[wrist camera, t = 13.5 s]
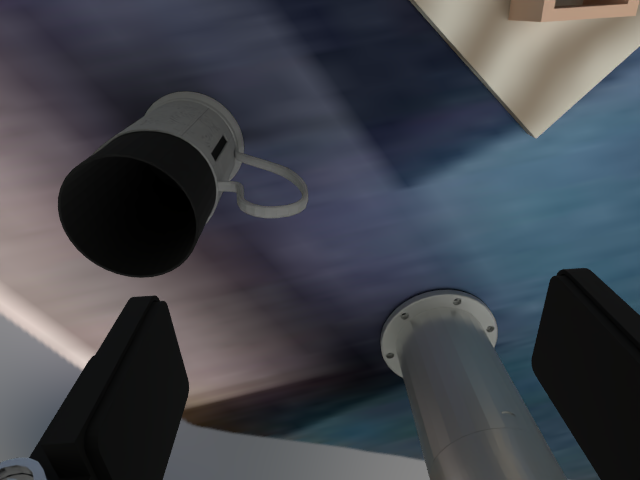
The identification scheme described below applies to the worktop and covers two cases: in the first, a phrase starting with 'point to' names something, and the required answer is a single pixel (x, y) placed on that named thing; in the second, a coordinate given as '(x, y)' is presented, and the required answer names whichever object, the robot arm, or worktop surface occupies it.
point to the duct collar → (570, 10)
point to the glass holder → (161, 186)
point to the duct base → (532, 54)
